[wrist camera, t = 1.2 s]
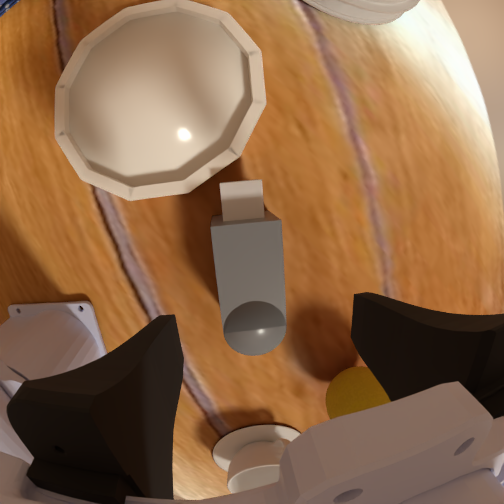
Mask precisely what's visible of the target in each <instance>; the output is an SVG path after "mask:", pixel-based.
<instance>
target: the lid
mask: <svg viewBox="0 0 504 504" xmlns="http://www.w3.org/2000/svg"><path fill="white" fill-rule="evenodd" d="M303 1H304V2H306V3H307V4H309V5H311V6H313V7H315V8H316V9H318V10H320V11H322V12H325V13H327V14H329V15H331V16H334V17H337V18H339V19H343V20H346V21H350V22H354V23H359V24H368V25H380V24H386V23H389V22H392V21H394V20H396V19H397V18H399V17H400V16H401V15H402V14H403V13H404V12H406V11H408V10H410V9H412V8H413V7H414V6H416V5H417V4H418V2H419V1H420V0H303Z"/></svg>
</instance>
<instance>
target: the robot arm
mask: <svg viewBox="0 0 504 504" xmlns="http://www.w3.org/2000/svg"><path fill="white" fill-rule="evenodd" d="M80 306H82V307H83V310H82V309H81V308H80ZM19 309H20V311H21V312H20V311H19ZM8 312H9V315H10V318H9V319H8V320H7V321H5V322H4V323H3V324H2V325H1V326H0V504H504V314H496V315H464V314H453V313H446V312H440V311H434V310H430V309H426V308H422V307H418V306H414V305H411V304H407V303H404V302H401V301H398V300H395V299H392V298H388V297H385V296H382V295H378V294H375V293H369V292H365V293H359V294H354V301H353V316H352V328H351V339H352V341H353V343H354V345H355V347H356V349H357V351H358V353H359V355H360V356H361V358H362V359H363V361H364V362H365V364H366V365H367V366H368V368H369V369H370V371H371V372H372V373H373V375H374V376H375V378H376V379H377V380H378V382H379V383H380V385H381V386H382V387H383V389H384V390H385V392H386V394H387V395H388V397H389V399H390V401H391V402H389V403H386V404H383V405H380V406H376V407H373V408H370V409H366V410H362V411H359V412H355V413H351V414H347V415H343V416H339V417H335V418H333V419H330V420H328V421H325V422H323V423H320V424H317V425H315V426H312V427H310V428H308V429H307V430H306V431H305V432H303V433H302V434H301V435H299V436H298V437H297V438H295V439H294V440H293V441H291V442H290V443H289V444H288V445H287V446H286V448H285V450H284V453H283V455H282V457H281V459H280V461H279V470H280V476H279V480H278V482H275V483H271V484H268V485H264V486H261V487H257V488H254V489H250V490H246V491H242V492H238V493H233V494H229V495H224V496H219V497H214V498H209V499H203V500H174V498H173V473H172V456H173V429H174V421H175V416H176V410H177V405H178V400H179V395H180V390H181V385H182V379H183V364H184V357H183V352H182V347H181V343H180V338H179V333H178V328H177V323H176V318H175V314H174V315H160V316H158V317H157V318H155V319H154V320H153V321H151V322H150V323H149V324H148V325H146V326H145V327H144V328H143V329H142V330H140V331H139V332H138V333H137V334H135V335H134V336H133V337H131V338H130V339H129V340H127V341H126V342H124V343H123V344H122V345H120V346H119V347H117V348H116V349H114V350H113V351H111V352H110V353H108V354H107V351H106V348H105V345H104V342H103V339H102V336H101V332H100V329H99V326H98V323H97V319H96V316H95V312H94V309H93V306H92V304H91V303H90V302H89V301H76V302H58V303H38V304H14V305H10V306H9V307H8Z"/></svg>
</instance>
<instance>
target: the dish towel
mask: <svg viewBox="0 0 504 504" xmlns="http://www.w3.org/2000/svg"><path fill="white" fill-rule="evenodd" d="M19 1H20V0H0V17H1V16H2V15H3V14H4V13H5V12H6V11H8V10H9V9H10V8H11V7H12V6H13V5H15V4H16V3H17V2H19Z"/></svg>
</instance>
